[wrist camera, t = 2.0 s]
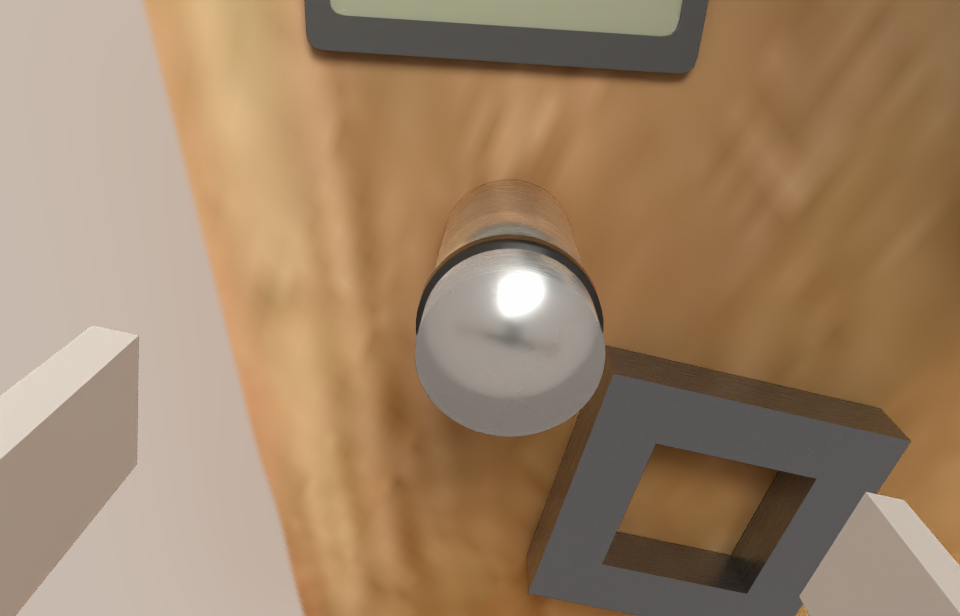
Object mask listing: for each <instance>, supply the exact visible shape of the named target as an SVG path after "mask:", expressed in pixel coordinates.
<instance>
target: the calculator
mask: <svg viewBox="0 0 960 616" xmlns="http://www.w3.org/2000/svg"><path fill="white" fill-rule="evenodd" d="M707 5H708V0H305V16H306V33H307V37H308V41H309V43H310V44H311V45H312V46H313V47H314V48H317V49H320V50H327V51H342V52H357V53H372V54H388V55H403V56H418V57H433V58H448V59H463V60H479V61H494V62H509V63H524V64H539V65H554V66H569V67H585V68H600V69H615V70H630V71H645V72H660V73H676V74H680V73H687V72H689V71H690V70H691V69H692V68H693V67H694V65H695V63H696V60H697V57H698V52H699V46H700V41H701V36H702V31H703V26H704V21H705V15H706V10H707Z"/></svg>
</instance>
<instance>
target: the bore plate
mask: <svg viewBox="0 0 960 616" xmlns="http://www.w3.org/2000/svg"><path fill="white" fill-rule="evenodd" d="M910 442H911V441H910V439H909V438H908V437H907V436H906V435H905V434H904V433H903V432H902V431H901V430H900V429H899V428H898V427H897V426H896V424H895V423H894V422H893V421H892V420H891V419H890V418H889V417H888V416H887V415H886V414H885V413H884V412H883V411H882V410H881V409H880V408H875V407H871V406H867V405H862V404H858V403H854V402H849V401H845V400H840V399H836V398H832V397H827V396H823V395H819V394H814V393H810V392H806V391H801V390H797V389H793V388H788V387H784V386H780V385H775V384H771V383H767V382H762V381H758V380H753V379H749V378H745V377H740V376H736V375H732V374H727V373H723V372H719V371H714V370H710V369H706V368H701V367H697V366H693V365H688V364H684V363H679V362H675V361H671V360H666V359H662V358H658V357H653V356H649V355H645V354H640V353H636V352H632V351H627V350H623V349H619V348H614V347H610V346H605V364H604V370H603V374H602V377H601V380H600V382H599V384H598V387H597V389H596V390H595V392H594V394H593V395H592V397H591V398H590V400H589V401H588V402H587V403H586V404H585V405H584V407H583V408H582V409H581V412H580V414H579V417H578V420H577V422H576V425H575V428H574V430H573V433H572V436H571V439H570V441H569V444H568V447H567V449H566V452H565V455H564V457H563V460H562V463H561V465H560V468H559V471H558V473H557V476H556V479H555V481H554V484H553V487H552V489H551V492H550V495H549V497H548V500H547V503H546V505H545V508H544V511H543V514H542V516H541V519H540V522H539V524H538V527H537V530H536V532H535V535H534V538H533V540H532V543H531V546H530V548H529V551H528V554H527V575H528V594H533V595H538V596H543V597H548V598H553V599H558V600H563V601H568V602H573V603H578V604H583V605H588V606H593V607H598V608H603V609H608V610H613V611H618V612H623V613H628V614H633V615H639V616H795V615H796V613H797V612H798V610H799V609H800V607H801V606H802V604H803V602H802V601H801V599H800V597H799V596H800V594H801V593H802V591H803V590H804V588H805V587H806V585H807V583H808V582H809V580H810V579H811V577H812V576H813V574H814V572H815V571H816V569H817V568H818V566H819V565H820V563H821V561H822V560H823V558H824V557H825V555H826V554H827V552H828V550H829V549H830V547H831V546H832V544H833V543H834V541H835V539H836V538H837V536H838V535H839V533H840V532H841V530H842V528H843V527H844V525H845V524H846V522H847V521H848V519H849V517H850V516H851V514H852V513H853V511H854V510H855V508H856V506H857V505H858V503H859V502H860V500H861V499H862V497H863V495H864V494H865V492H869V493H873V494H876V493H877V492H878V490H879V489H880V487H881V486H882V484H883V483H884V481H885V480H886V478H887V477H888V475H889V474H890V472H891V471H892V469H893V468H894V466H895V465H896V463H897V462H898V460H899V459H900V457H901V456H902V454H903V453H904V451H905V450H906V448H907V447H908V445H909V444H910ZM656 444H661V445H665V446H670V447H674V448H679V449H683V450H688V451H692V452H697V453H702V454H706V455H711V456H715V457H720V458H724V459H729V460H733V461H738V462H743V463H747V464H752V465H756V466H761V467H765V468H770V469H774V470H779V472H778V474H777V476H776V478H775V479H774V481H773V483H772V485H771V486H770V488H769V490H768V492H767V493H766V495H765V497H764V499H763V501H762V502H761V504H760V506H759V508H758V509H757V511H756V513H755V515H754V516H753V518H752V520H751V522H750V523H749V525H748V527H747V529H746V530H745V532H744V534H743V536H742V538H741V539H740V541H739V543H738V545H737V546H736V548H735V550H734V552H733V553H732V555H731V556H730V555H726V554H721V553H716V552H711V551H706V550H702V549H697V548H692V547H687V546H682V545H678V544H673V543H668V542H663V541H658V540H654V539H649V538H644V537H639V536H634V535H630V534H625V533H620V532H617V529H618V527H619V525H620V523H621V520H622V518H623V516H624V514H625V511H626V509H627V507H628V505H629V503H630V500H631V498H632V496H633V494H634V491H635V489H636V487H637V485H638V482H639V480H640V478H641V476H642V474H643V471H644V469H645V467H646V465H647V462H648V460H649V458H650V456H651V453H652V451H653V449H654V447H655V445H656Z"/></svg>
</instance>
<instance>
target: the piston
mask: <svg viewBox="0 0 960 616" xmlns="http://www.w3.org/2000/svg"><path fill="white" fill-rule="evenodd" d="M416 334H417V338H416V345H415V363H416V369H417V373H418V376H419V379H420V382H421V384H422V386H423V388H424V390H425V392H426V393H427V395H428V396H429V398H430V399H431V401H432V402H433V403H434V404H435V405H436V406H437V408H439V409H440V410H441V411H442V412H443V413H444V414H445V415H447V416H448V417H449V418H451V419H452V420H454V421H455V422H457V423H459V424H461V425H463V426H464V427H467V428H469V429H472V430H474V431H477V432H481V433H485V434H489V435H495V436H507V437H513V436H525V435H531V434H536V433H539V432H543V431H546V430H548V429H551V428H553V427H556V426H558V425H559V424H561V423H563V422H565V421H566V420H568V419H569V418H571V417H572V416H574V415H575V414H576V413H577V412H578V411H579V410H580V409H582V408H583V407H584V405H585V404H586V403H587V402H588V401H589V400H590V398H591V397H592V395H593V394H594V392H595V390H596V389H597V387H598V384H599V382H600V380H601V377H602V374H603V370H604V364H605V343H604V337H603V315H602V309H601V306H600V302H599V299H598V296H597V293H596V290H595V287H594V285H593V283H592V281H591V279H590V277H589V276H588V274H587V273H586V271H585V270H584V268H583V267H582V263H581V260H580V257H579V253H578V250H577V247H576V243H575V240H574V237H573V233H572V230H571V227H570V223H569V220H568V218H567V215H566V213H565V211H564V210H563V208H562V207H561V205H560V204H559V203H558V202H557V200H556V199H555V198H554V197H553V196H551V195H550V194H549V193H548V192H546V191H545V190H543V189H542V188H540V187H538V186H536V185H534V184H531V183H528V182H525V181H519V180H497V181H493V182H489V183H486V184H483V185H481V186H479V187H477V188H475V189H473V190H472V191H470V192H469V193H468V194H466V195H465V196H464V197H463V198H462V199H461V200H460V201H459V202H458V204H457V205H456V206H455V208H454V209H453V211H452V212H451V214H450V217H449V219H448V222H447V225H446V228H445V232H444V236H443V240H442V243H441V247H440V251H439V255H438V259H437V262H436V266H435V270H434V271H433V273H432V275H431V276H430V278H429V279H428V281H427V283H426V285H425V288H424V290H423V293H422V297H421V300H420V303H419V307H418V311H417V318H416Z"/></svg>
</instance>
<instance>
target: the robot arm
mask: <svg viewBox="0 0 960 616" xmlns="http://www.w3.org/2000/svg"><path fill="white" fill-rule="evenodd" d="M138 358H139V335H134V334H130V333H125V332H121V331H116V330H111V329H107V328H102V327H97V326H93V325H92V326H91V327H89V328H88V329H87V330H85V331H84V332H83V333H81V334H80V335H79V336H78V337H76V338H75V339H74V340H72V341H71V342H70V343H69V344H67V345H66V346H64V347H63V348H62V349H61V350H59V351H58V352H57V353H55V354H54V355H53V356H52V357H50V358H49V359H48V360H46V361H45V362H44V363H42V364H41V365H40V366H38V367H37V368H36V369H34V370H33V371H32V372H31V373H29V374H28V375H27V376H25V377H24V378H23V379H21V380H20V381H19V382H17V383H16V384H15V385H14V386H12V387H11V388H10V389H8V390H7V391H6V392H4V393H3V394H2V395H1V396H0V616H16V614H17V613H18V612H19V611H20V609H21V608H22V607H23V606H24V604H25V603H26V602H27V601H28V600H29V598H30V597H31V596H32V595H33V593H34V592H35V591H36V590H37V588H38V587H39V586H40V585H41V583H42V582H43V581H44V580H45V578H46V577H47V576H48V575H49V573H50V572H51V571H52V570H53V568H54V567H55V566H56V565H57V563H58V562H59V561H60V559H61V558H62V557H63V556H64V554H65V553H66V552H67V551H68V550H69V548H70V547H71V546H72V545H73V543H74V542H75V541H76V540H77V538H78V537H79V536H80V534H81V533H82V532H83V531H84V530H85V528H86V527H87V526H88V525H89V523H90V522H91V521H92V520H93V518H94V517H95V516H96V515H97V513H98V512H99V511H100V510H101V508H102V507H103V506H104V505H105V503H106V502H107V501H108V500H109V498H110V497H111V496H112V495H113V493H114V492H115V491H116V490H117V488H118V487H119V486H120V485H121V484H122V482H123V481H124V480H125V479H126V477H127V476H128V475H129V474H130V472H131V471H132V470H133V469H134V467H135V466H136V465H137V433H138V431H137V430H138V429H137V428H138V427H137V426H138ZM799 597H800V599H801V601H802V602H803V604H804V606H805V608H806V610H807V612H808V614H809V616H960V566H959V565H958V563H957V562H956V561H955V560H954V559H953V557H952V556H951V555H950V554H949V553H948V551H947V550H946V549H945V548H944V547H943V546H942V544H941V543H940V542H939V541H938V540H937V538H936V537H935V536H934V535H933V534H932V533H931V531H930V530H929V529H928V528H927V527H926V525H925V524H924V523H923V522H922V521H921V519H920V518H919V517H918V516H917V515H916V514H915V512H914V511H913V510H912V509H911V508H910V506H909V505H908V504H907V503H906V502H905V500H901V499H897V498H892V497H887V496H883V495H878V494H873V493H869V492H865V494H864V495H863V497H862V499H861V500H860V502H859V503H858V505H857V506H856V508H855V510H854V511H853V513H852V514H851V516H850V517H849V519H848V521H847V522H846V524H845V525H844V527H843V528H842V530H841V532H840V533H839V535H838V536H837V538H836V539H835V541H834V543H833V544H832V546H831V547H830V549H829V550H828V552H827V554H826V555H825V557H824V558H823V560H822V561H821V563H820V565H819V566H818V568H817V569H816V571H815V572H814V574H813V576H812V577H811V579H810V580H809V582H808V583H807V585H806V587H805V588H804V590H803V591H802V593H801V594H800V596H799Z"/></svg>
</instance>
